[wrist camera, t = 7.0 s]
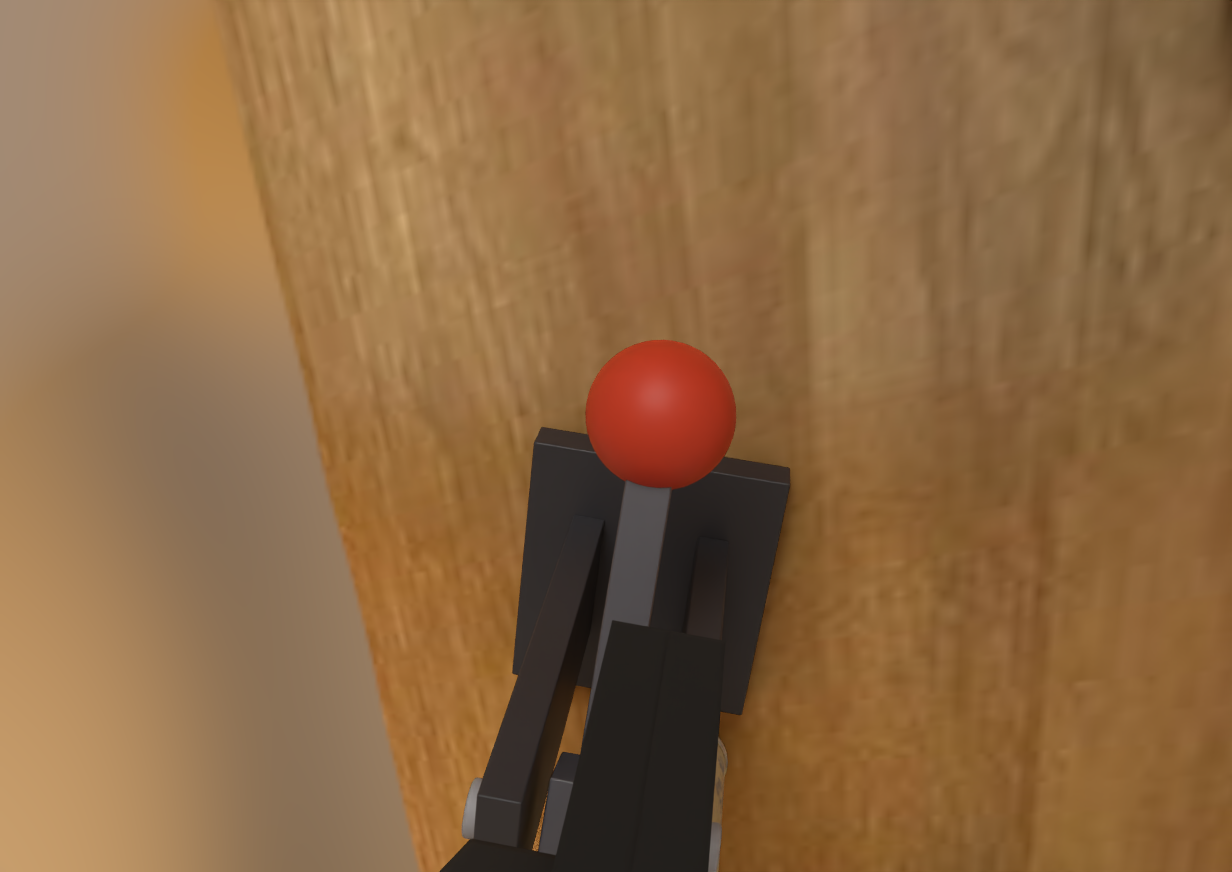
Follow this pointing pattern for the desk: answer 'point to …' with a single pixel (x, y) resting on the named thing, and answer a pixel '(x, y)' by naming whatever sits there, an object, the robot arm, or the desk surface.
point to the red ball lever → (645, 485)
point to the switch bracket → (575, 600)
